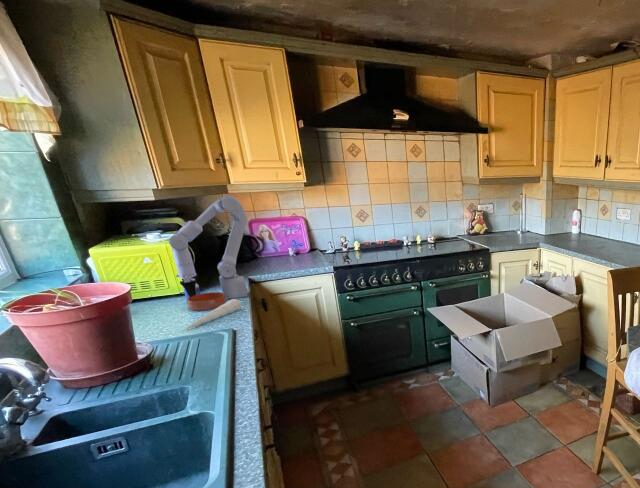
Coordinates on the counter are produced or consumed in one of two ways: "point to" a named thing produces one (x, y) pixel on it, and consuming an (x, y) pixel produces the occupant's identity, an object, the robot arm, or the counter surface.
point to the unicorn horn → (218, 312)
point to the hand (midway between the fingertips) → (193, 294)
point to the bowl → (206, 301)
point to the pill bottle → (195, 288)
